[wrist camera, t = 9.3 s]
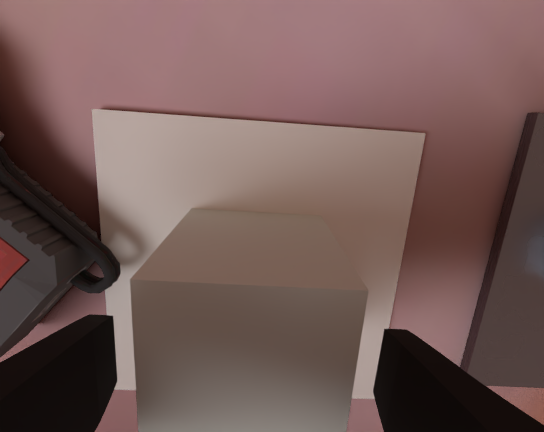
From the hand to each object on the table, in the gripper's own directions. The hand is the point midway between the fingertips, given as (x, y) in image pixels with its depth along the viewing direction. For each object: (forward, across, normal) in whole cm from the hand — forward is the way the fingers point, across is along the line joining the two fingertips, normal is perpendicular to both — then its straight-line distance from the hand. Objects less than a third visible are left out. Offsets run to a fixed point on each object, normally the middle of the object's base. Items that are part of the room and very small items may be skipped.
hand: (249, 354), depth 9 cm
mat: (+5, 0, 0) cm, 5 cm away
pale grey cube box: (+5, 0, 0) cm, 5 cm away
